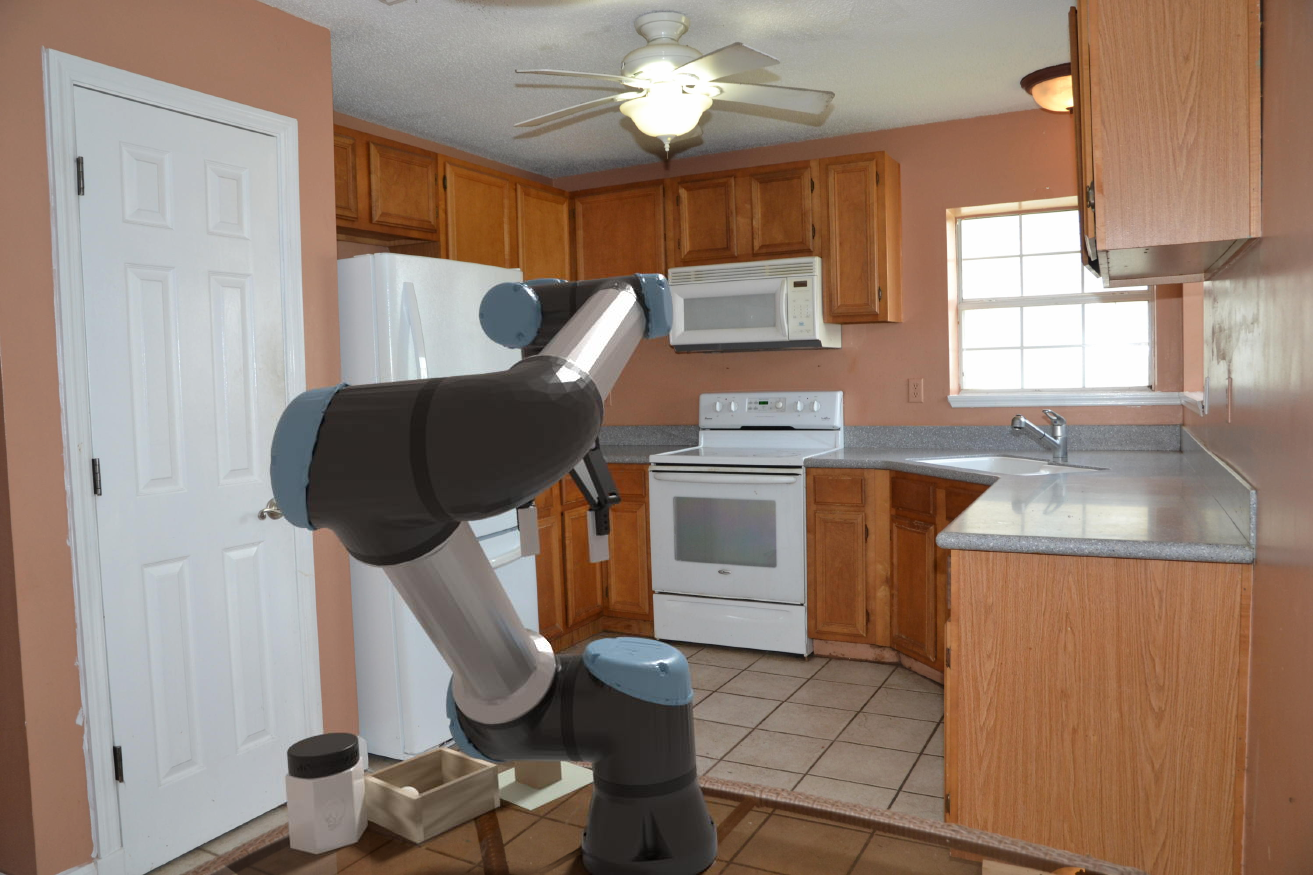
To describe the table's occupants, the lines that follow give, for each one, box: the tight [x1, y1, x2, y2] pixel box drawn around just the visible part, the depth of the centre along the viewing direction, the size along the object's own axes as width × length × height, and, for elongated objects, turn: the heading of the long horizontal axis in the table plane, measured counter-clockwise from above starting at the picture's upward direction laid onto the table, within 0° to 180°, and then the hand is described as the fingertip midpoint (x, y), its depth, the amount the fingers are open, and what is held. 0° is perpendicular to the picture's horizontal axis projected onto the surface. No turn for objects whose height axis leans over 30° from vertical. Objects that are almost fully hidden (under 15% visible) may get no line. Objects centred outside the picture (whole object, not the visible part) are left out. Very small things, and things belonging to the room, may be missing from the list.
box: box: [364, 746, 501, 845], centre depth 112 cm, size 12×12×6 cm
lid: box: [498, 761, 593, 811], centre depth 120 cm, size 13×13×9 cm
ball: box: [401, 787, 419, 795], centre depth 113 cm, size 3×3×3 cm
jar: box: [284, 732, 369, 855], centre depth 107 cm, size 9×8×12 cm
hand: (563, 558), depth 118 cm, fingers open, 13 cm apart
